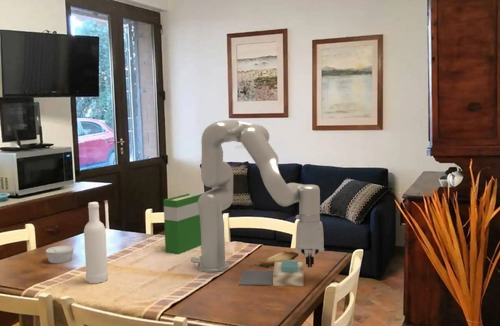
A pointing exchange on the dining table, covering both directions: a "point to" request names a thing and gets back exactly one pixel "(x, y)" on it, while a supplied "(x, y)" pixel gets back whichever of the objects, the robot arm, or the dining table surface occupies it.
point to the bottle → (95, 247)
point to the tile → (289, 266)
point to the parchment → (278, 258)
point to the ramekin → (59, 254)
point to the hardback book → (182, 224)
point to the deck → (287, 276)
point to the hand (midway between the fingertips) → (309, 266)
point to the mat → (256, 277)
